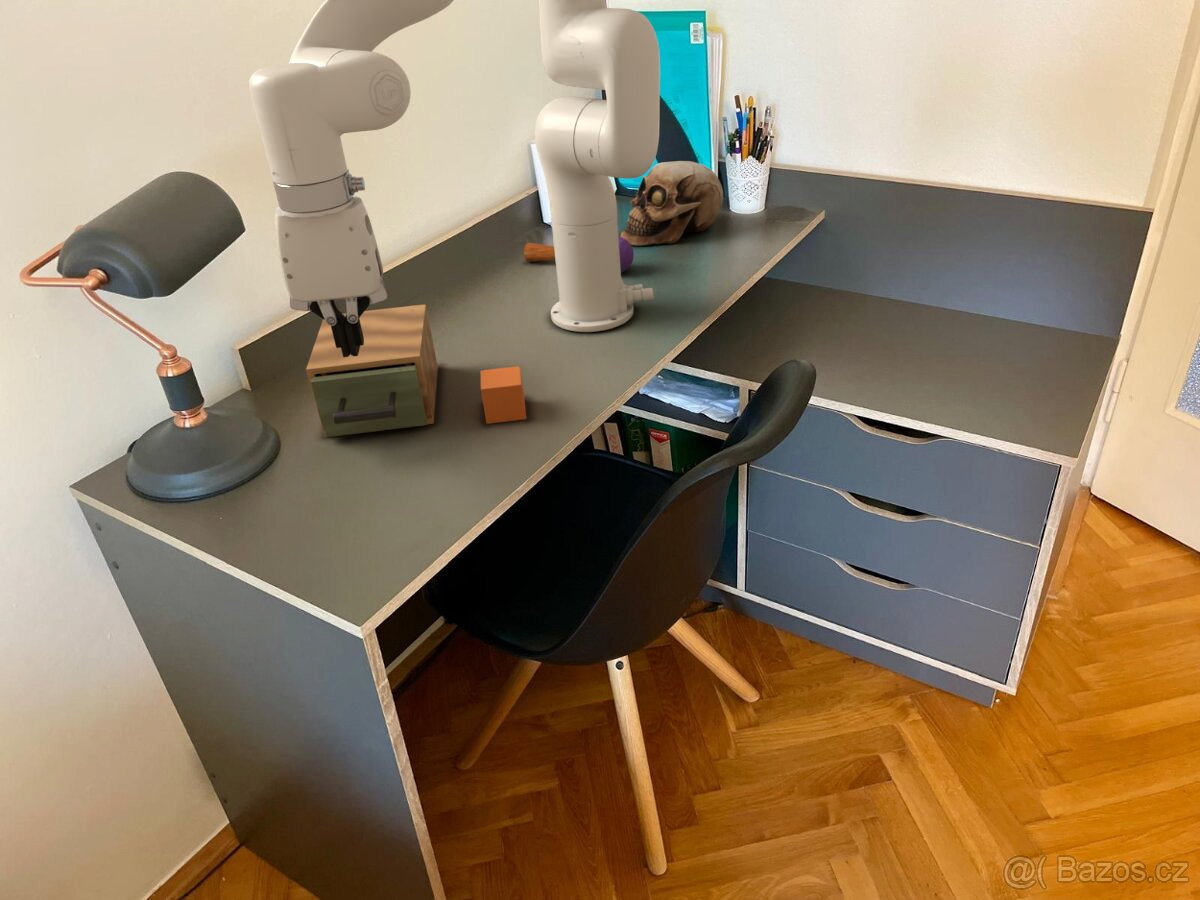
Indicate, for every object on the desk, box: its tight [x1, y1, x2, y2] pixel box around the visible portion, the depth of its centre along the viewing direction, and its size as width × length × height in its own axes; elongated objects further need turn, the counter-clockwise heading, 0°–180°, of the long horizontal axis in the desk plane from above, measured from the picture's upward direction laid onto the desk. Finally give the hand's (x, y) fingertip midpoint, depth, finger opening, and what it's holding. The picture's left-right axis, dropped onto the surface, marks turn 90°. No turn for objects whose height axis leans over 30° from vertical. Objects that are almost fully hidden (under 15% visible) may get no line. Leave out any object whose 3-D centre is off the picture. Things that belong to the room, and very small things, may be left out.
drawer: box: [310, 362, 428, 438], centre depth 113 cm, size 19×12×8 cm, turn 7°
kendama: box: [523, 236, 635, 273], centre depth 153 cm, size 6×6×20 cm
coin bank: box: [619, 160, 724, 247], centre depth 162 cm, size 16×17×13 cm
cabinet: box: [305, 303, 439, 438], centre depth 117 cm, size 16×14×10 cm
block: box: [480, 365, 527, 425], centre depth 113 cm, size 5×5×5 cm
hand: (352, 351), depth 103 cm, fingers closed
